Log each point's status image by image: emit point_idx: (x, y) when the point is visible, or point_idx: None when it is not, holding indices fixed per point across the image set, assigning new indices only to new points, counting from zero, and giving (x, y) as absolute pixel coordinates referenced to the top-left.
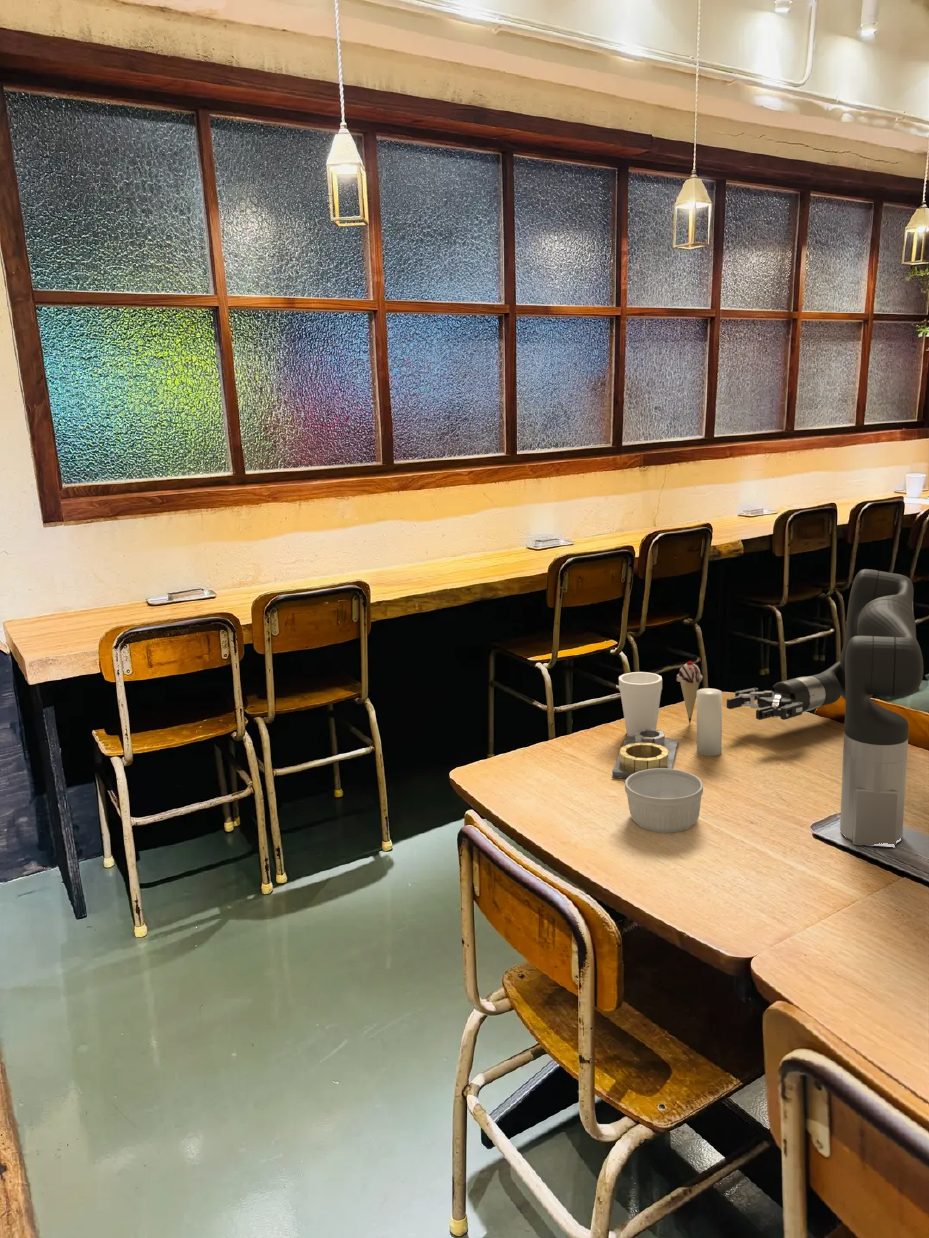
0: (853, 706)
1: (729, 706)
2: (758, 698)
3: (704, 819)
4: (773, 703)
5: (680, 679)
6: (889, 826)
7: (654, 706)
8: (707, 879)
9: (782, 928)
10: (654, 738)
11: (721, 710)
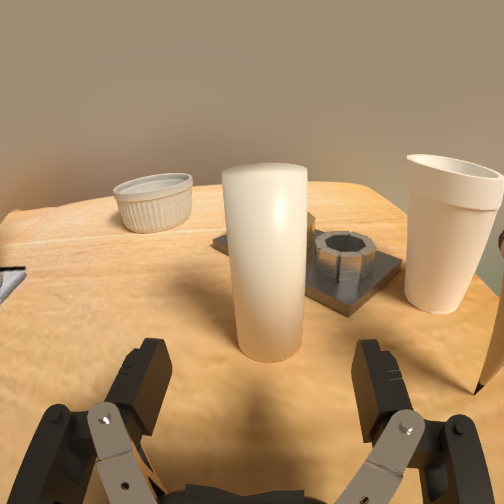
0: None
1: (352, 363)
2: (302, 491)
3: (124, 235)
4: (129, 448)
5: None
6: None
7: (414, 228)
8: (90, 213)
9: (45, 218)
10: (317, 239)
11: (231, 239)
